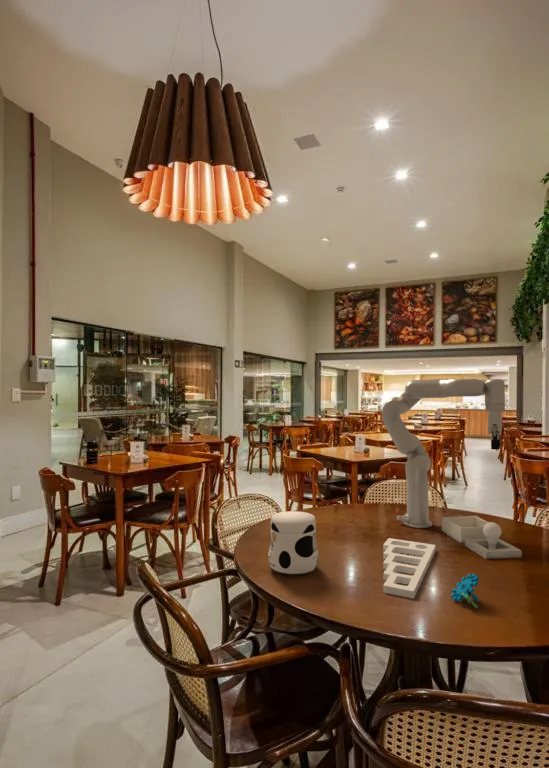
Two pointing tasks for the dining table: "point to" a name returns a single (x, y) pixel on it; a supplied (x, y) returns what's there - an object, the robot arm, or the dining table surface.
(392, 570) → the holder
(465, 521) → the bin
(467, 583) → the blue lumpy piece
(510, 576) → the dining table surface
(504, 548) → the socket collar
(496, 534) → the lightbulb
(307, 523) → the milk container
